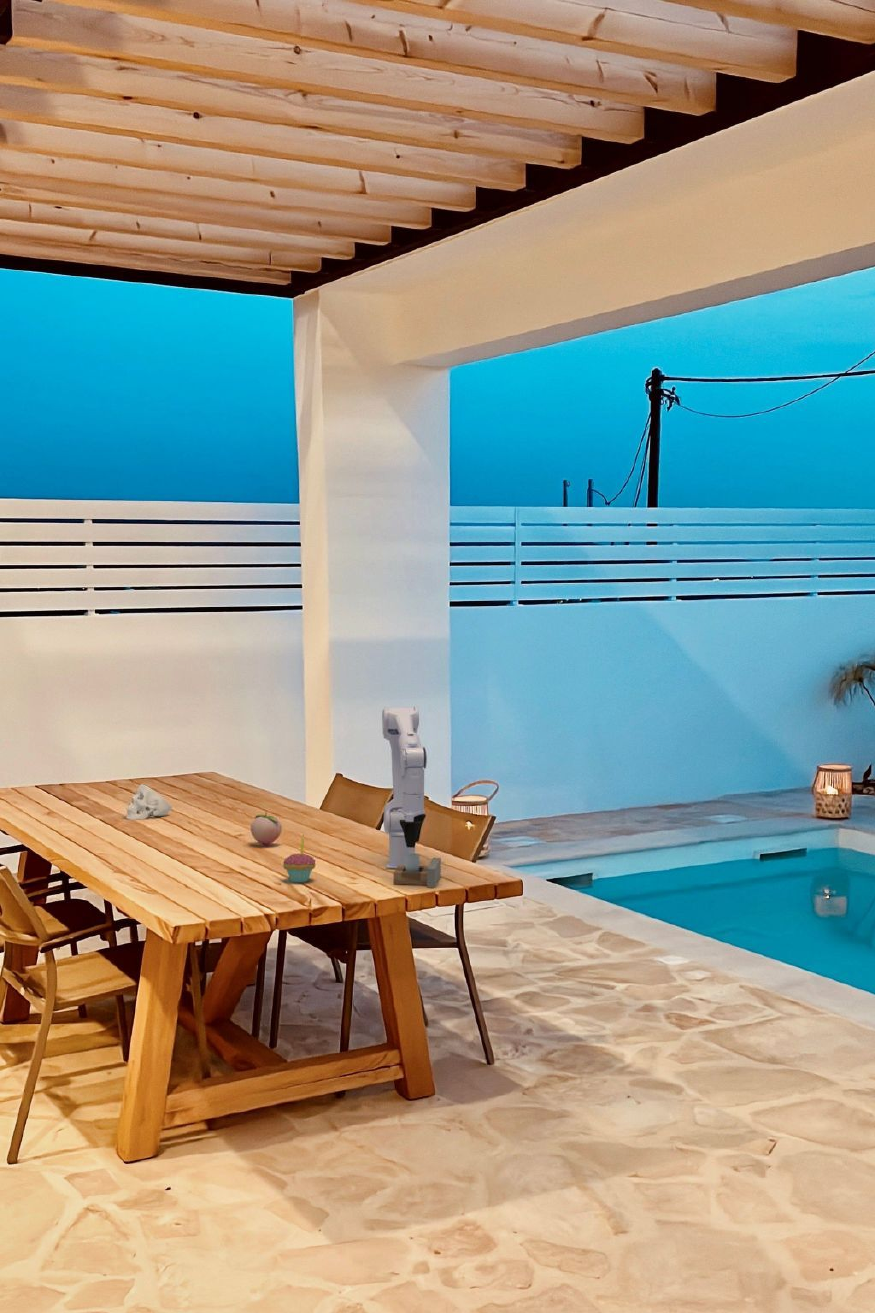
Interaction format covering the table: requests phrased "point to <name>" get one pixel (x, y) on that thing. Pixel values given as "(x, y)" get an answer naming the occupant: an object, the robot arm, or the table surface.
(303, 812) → the table surface
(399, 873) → the brown square frame
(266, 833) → the decorative fruit
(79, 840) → the table surface
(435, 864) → the wall
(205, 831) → the table surface
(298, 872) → the cupcake
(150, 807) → the skull bowl
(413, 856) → the dowel
